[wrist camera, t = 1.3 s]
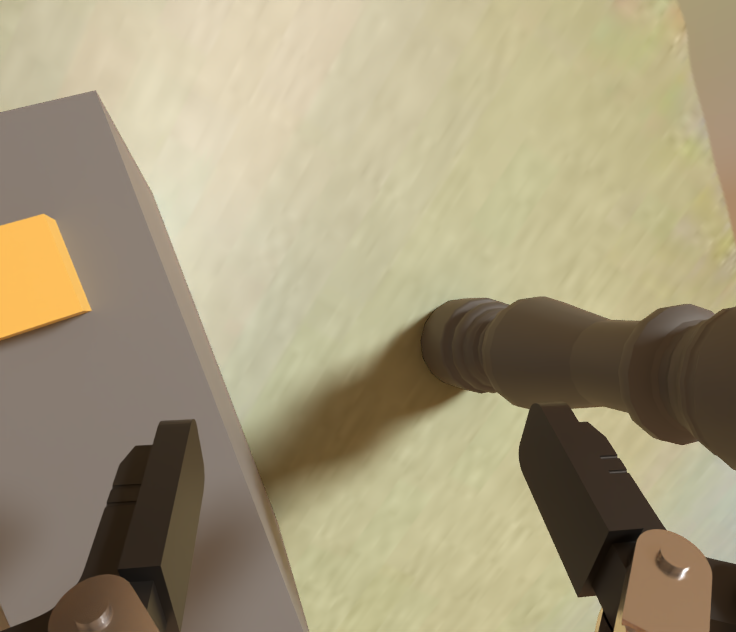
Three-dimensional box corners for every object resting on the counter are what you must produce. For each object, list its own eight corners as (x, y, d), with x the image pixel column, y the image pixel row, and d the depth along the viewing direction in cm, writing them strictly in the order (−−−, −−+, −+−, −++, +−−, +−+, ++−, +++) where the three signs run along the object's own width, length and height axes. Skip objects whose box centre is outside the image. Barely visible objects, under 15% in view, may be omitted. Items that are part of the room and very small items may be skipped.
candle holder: (517, 345, 39) (990, 404, 15) (458, 404, 38) (872, 570, 14) (465, 280, 38) (891, 235, 14) (403, 339, 37) (752, 400, 13)
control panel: (152, 580, 33) (88, 857, 16) (9, 233, 31) (-235, 146, 14) (277, 522, 35) (333, 717, 18) (152, 193, 33) (87, 74, 16)
